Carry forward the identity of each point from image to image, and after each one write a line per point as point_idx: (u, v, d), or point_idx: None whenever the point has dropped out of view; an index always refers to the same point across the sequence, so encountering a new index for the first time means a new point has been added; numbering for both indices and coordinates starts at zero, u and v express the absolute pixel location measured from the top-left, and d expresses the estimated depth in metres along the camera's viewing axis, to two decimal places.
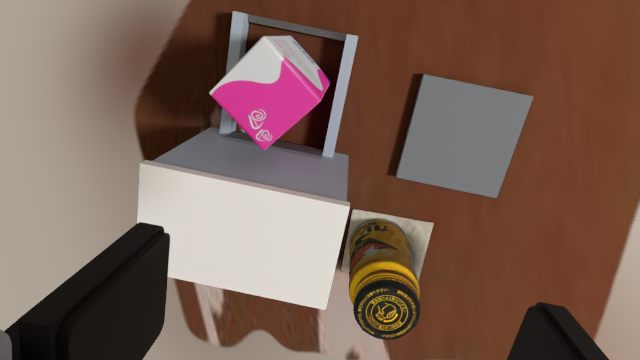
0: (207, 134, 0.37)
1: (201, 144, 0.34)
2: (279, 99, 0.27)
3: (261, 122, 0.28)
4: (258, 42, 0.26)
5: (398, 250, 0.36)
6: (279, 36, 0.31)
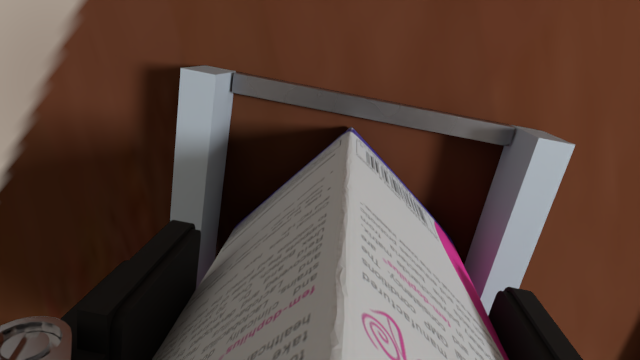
0: None
1: None
2: None
3: None
4: None
5: None
6: (350, 196, 0.07)
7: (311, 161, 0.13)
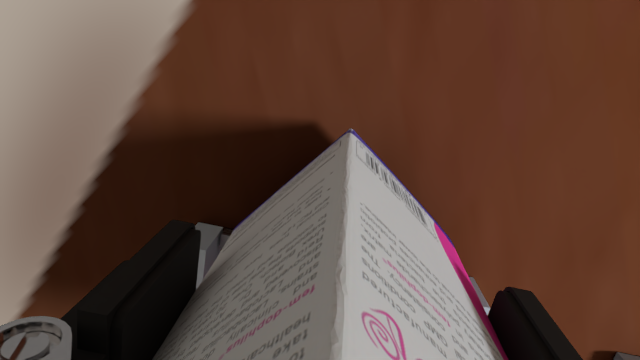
0: None
1: None
2: None
3: None
4: None
5: None
6: (349, 197, 0.07)
7: (311, 162, 0.13)
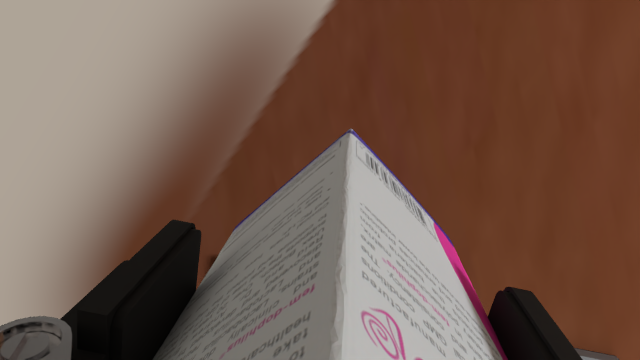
0: None
1: None
2: None
3: None
4: None
5: None
6: (349, 197, 0.08)
7: (311, 162, 0.13)
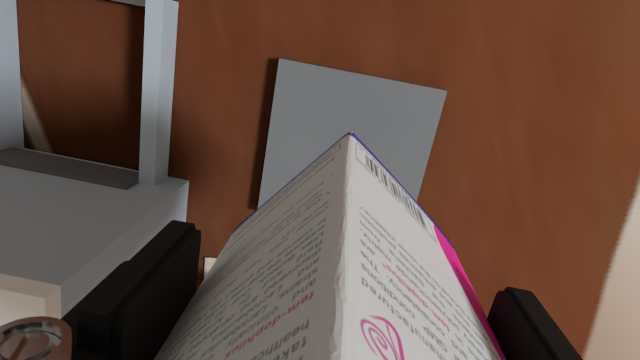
0: None
1: None
2: None
3: None
4: None
5: None
6: (349, 201, 0.07)
7: (311, 164, 0.13)
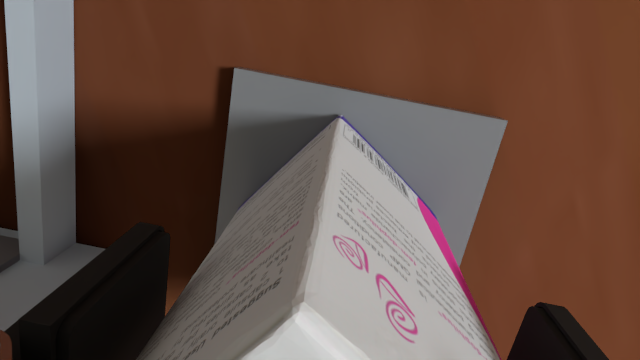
0: None
1: None
2: None
3: None
4: (264, 341, 0.04)
5: None
6: (332, 164, 0.09)
7: (305, 146, 0.14)
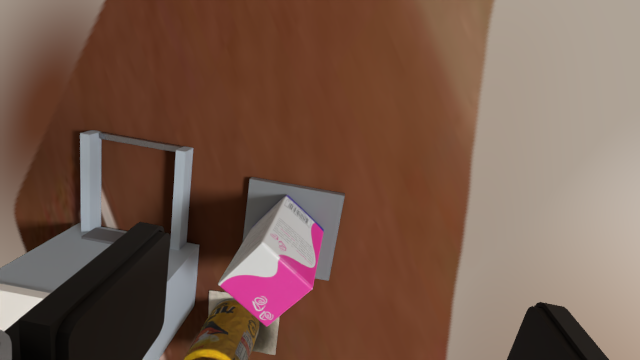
0: (67, 234, 0.43)
1: (50, 249, 0.40)
2: (277, 288, 0.32)
3: (263, 306, 0.33)
4: (257, 247, 0.31)
5: (229, 334, 0.41)
6: (276, 217, 0.36)
7: None
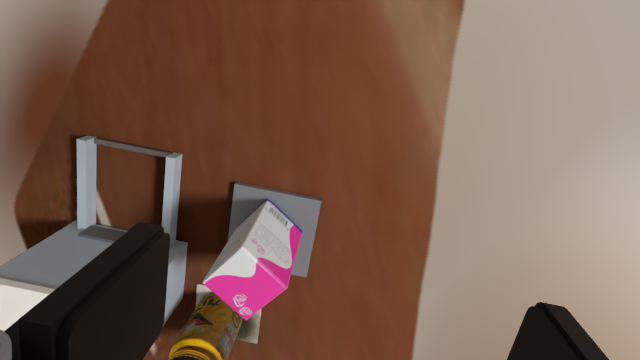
0: (65, 231, 0.47)
1: (49, 246, 0.43)
2: (255, 287, 0.36)
3: (243, 302, 0.37)
4: (238, 250, 0.35)
5: (213, 325, 0.45)
6: (256, 221, 0.40)
7: None
